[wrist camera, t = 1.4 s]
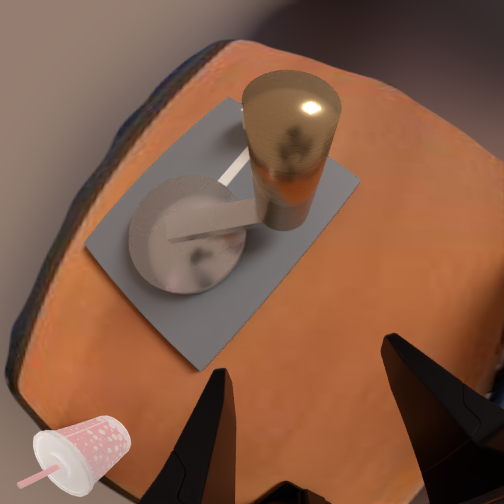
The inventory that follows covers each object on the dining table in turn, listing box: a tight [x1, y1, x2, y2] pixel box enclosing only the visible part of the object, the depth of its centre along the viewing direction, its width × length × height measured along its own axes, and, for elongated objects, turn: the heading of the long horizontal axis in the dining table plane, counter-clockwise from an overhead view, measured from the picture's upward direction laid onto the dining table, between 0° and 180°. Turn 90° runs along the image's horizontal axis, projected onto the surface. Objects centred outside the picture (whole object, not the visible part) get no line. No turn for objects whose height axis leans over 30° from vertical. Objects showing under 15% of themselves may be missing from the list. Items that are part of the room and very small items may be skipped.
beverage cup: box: [17, 416, 131, 497], centre depth 13 cm, size 6×6×14 cm
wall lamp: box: [128, 70, 341, 295], centre depth 16 cm, size 15×10×14 cm, turn 99°
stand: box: [84, 97, 361, 371], centre depth 22 cm, size 22×17×6 cm
